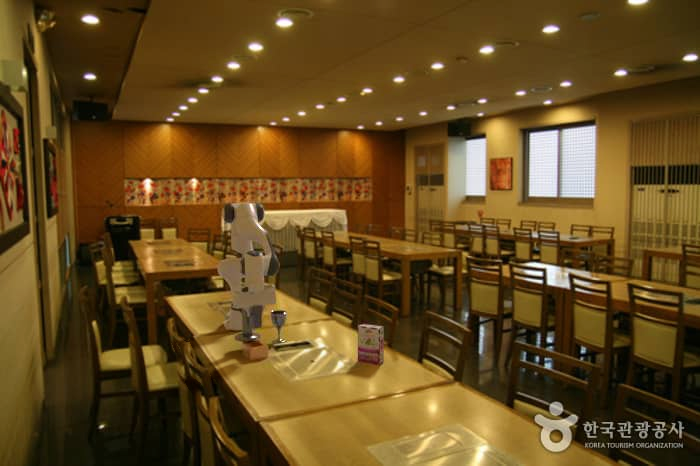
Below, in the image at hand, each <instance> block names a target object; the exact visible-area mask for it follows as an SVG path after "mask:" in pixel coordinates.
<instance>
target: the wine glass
mask: <svg viewBox="0 0 700 466" xmlns="http://www.w3.org/2000/svg"><path fill="white" fill-rule="evenodd" d="M287 313H288V312H287V310H284V309H283V310H280V309H279V310H278V309H275V310H272V311H270V321H271V323H272V325H273V326H274V327H275V328H276V330H277V338H275V339H273V340H271V342H272V343H274V344H282V343H285V342H286V341H287V340H286V339H284V338H281V336H280V335H281V329H282V328H283V326H284V325H285V324H286V321H287Z"/></svg>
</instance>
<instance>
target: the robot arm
mask: <svg viewBox="0 0 700 466" xmlns="http://www.w3.org/2000/svg"><path fill="white" fill-rule="evenodd" d="M265 212H266V211H265V208H264V206H263V204H262V203H259V202H255V203H254V202H235V203H226V204H224V205H223V208H222V210H221V217H222V219H223V222H224V223H227V224H231V227H230V229H231V230H230V232H231V233H230V235H231V237H230V239H231V242H230V247H231V248H232V250H234V251H235V252H236V253H240V254H241V255H242V257H233V258H225V259H222V260H220V261H219V262H218V265H217V273H218V275H219V277H221V278H222V279H224V280H225V282H227V284H228V285H229V287H230V293H231V294H230V295H231V303H230V309H229V311H228V312H227V313H226V315H224V319H225V320H224V321H222V324H223V327H224V328H225V330H228V331H231V330H232V331H242V309H244V308H245V310H246V311H247V316H248V317H251V316H252V313H251V312H249V307H253V306H262V316H263V315H264V310H265V308H266V306H270V305H275V304H276V303H277V295H276V291H277V288H276V286H275V285H274V284H265V277H274V276H276V275H277V274H278V273H279V271H280V261H279V258H278V257H277V255H276V253H275V252H276V251H275V250H274V246H273V244H272V241H271V238H270V236H269V233H268V232H267V230H266V229H265V228H263V227H262V226H261V225H260V223H261V222H262V221H263V220H264V217H265V214H266V213H265ZM254 242H255V243H258V244H259V245H261V246H262V249H263V252H264V255H263V252H262V251H260V250H254V247H253V243H254ZM264 276H265V277H264ZM242 278H244V282H243V281H242ZM252 330H253V328H252Z"/></svg>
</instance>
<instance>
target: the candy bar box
mask: <svg viewBox="0 0 700 466" xmlns="http://www.w3.org/2000/svg"><path fill="white" fill-rule="evenodd" d="M384 332H385V326H382V325H376V324H369V323H368V324H367V323H361V324H359V325H357V361H358V362H363V363H366V364H367V363H368V364H373V365H381V364H382V363H384V361H385V358H384V357H385V356H384V355H385V333H384Z"/></svg>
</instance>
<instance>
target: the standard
mask: <svg viewBox="0 0 700 466" xmlns="http://www.w3.org/2000/svg"><path fill="white" fill-rule="evenodd" d="M241 331H242V332H241V333H237V334H236V335H234V340H235V341H238V342H241V343H242V344H241V345H242V355H243V356H245V357H246V358H247V359H248V360H249V361H255V360H263V359H266V358H269V345H268V344H266V343H265V342H263V341H262V340H261V334H259V332H258V333H257V332H254V331H253V329H252V327H250V326H249V317H248V316H247V311H246V310H245V308H244V309H242V330H241Z"/></svg>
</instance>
